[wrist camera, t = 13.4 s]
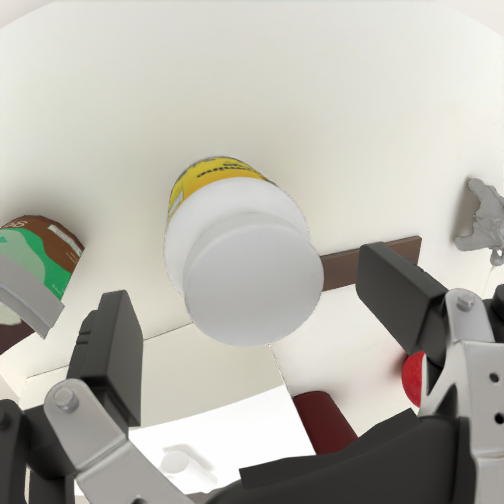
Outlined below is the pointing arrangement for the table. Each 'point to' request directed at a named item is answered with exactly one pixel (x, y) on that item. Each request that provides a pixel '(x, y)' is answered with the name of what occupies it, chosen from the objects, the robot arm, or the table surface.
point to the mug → (323, 422)
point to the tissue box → (204, 409)
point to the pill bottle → (240, 254)
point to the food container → (33, 276)
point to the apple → (413, 377)
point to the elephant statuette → (486, 223)
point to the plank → (345, 263)
